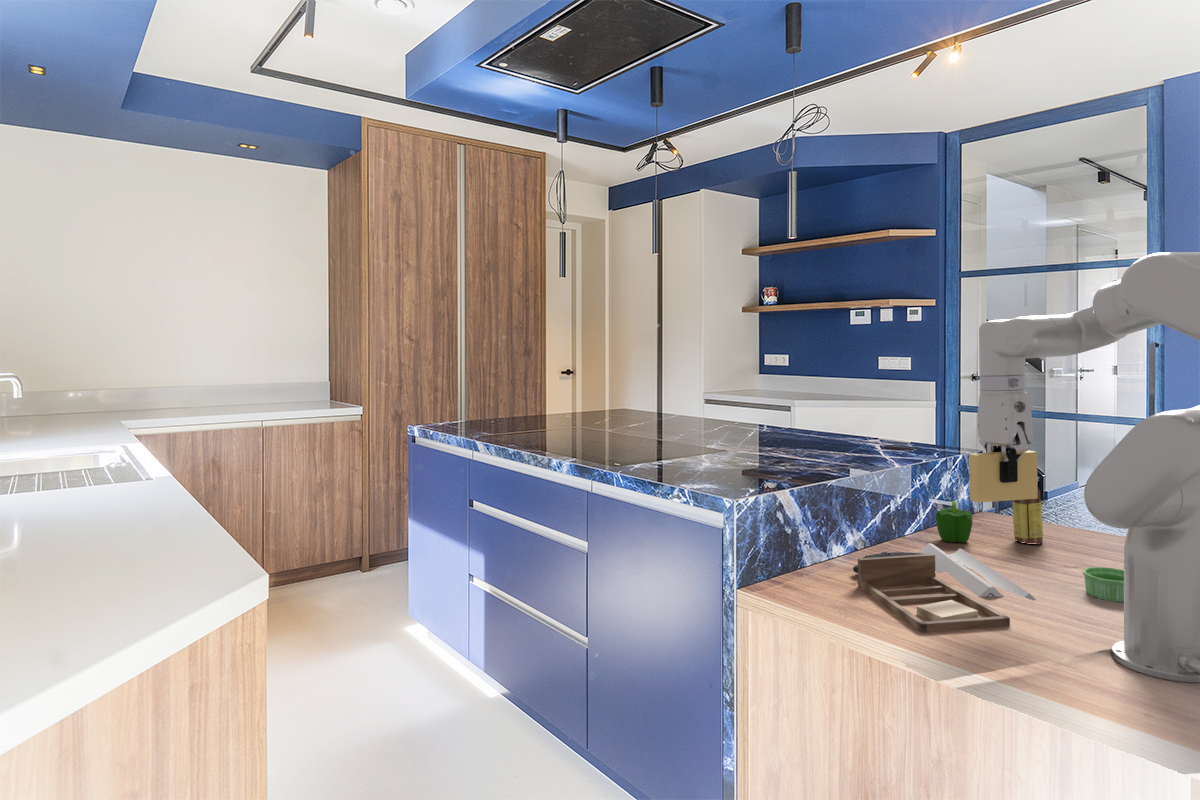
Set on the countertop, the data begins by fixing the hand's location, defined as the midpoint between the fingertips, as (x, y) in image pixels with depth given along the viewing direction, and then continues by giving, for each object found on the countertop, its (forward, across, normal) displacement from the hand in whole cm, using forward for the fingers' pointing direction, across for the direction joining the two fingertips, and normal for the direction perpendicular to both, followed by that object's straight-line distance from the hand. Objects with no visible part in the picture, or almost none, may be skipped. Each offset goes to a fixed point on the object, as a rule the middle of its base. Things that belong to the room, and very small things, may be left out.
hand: (1003, 479), depth 130 cm
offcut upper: (+23, -7, +16) cm, 29 cm away
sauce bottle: (+24, +37, -32) cm, 55 cm away
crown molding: (+25, +16, -3) cm, 30 cm away
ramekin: (+24, 0, -22) cm, 33 cm away
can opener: (+24, +21, +12) cm, 34 cm away
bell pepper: (+24, +42, -16) cm, 51 cm away
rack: (+24, -1, +16) cm, 29 cm away
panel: (+4, 0, 0) cm, 4 cm away
